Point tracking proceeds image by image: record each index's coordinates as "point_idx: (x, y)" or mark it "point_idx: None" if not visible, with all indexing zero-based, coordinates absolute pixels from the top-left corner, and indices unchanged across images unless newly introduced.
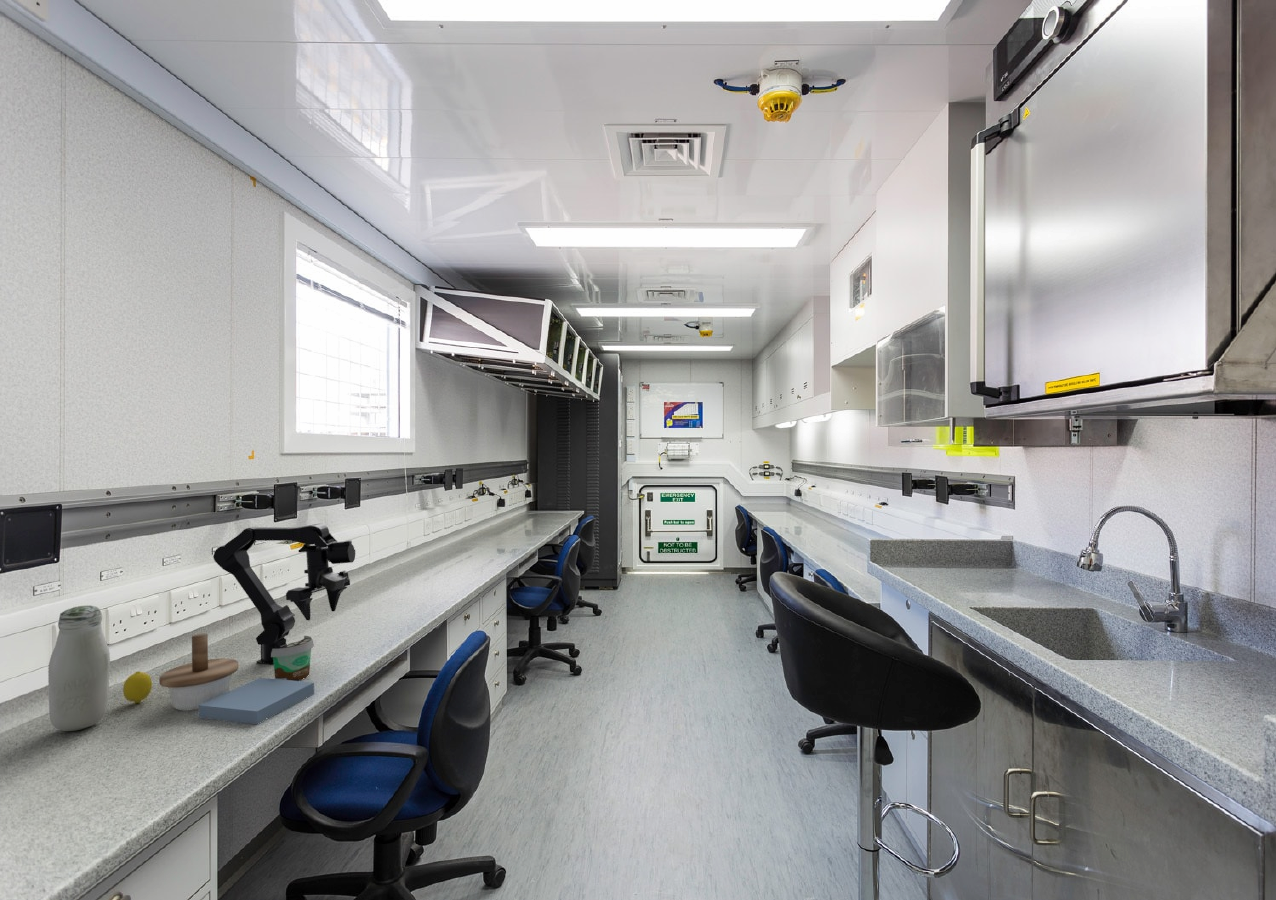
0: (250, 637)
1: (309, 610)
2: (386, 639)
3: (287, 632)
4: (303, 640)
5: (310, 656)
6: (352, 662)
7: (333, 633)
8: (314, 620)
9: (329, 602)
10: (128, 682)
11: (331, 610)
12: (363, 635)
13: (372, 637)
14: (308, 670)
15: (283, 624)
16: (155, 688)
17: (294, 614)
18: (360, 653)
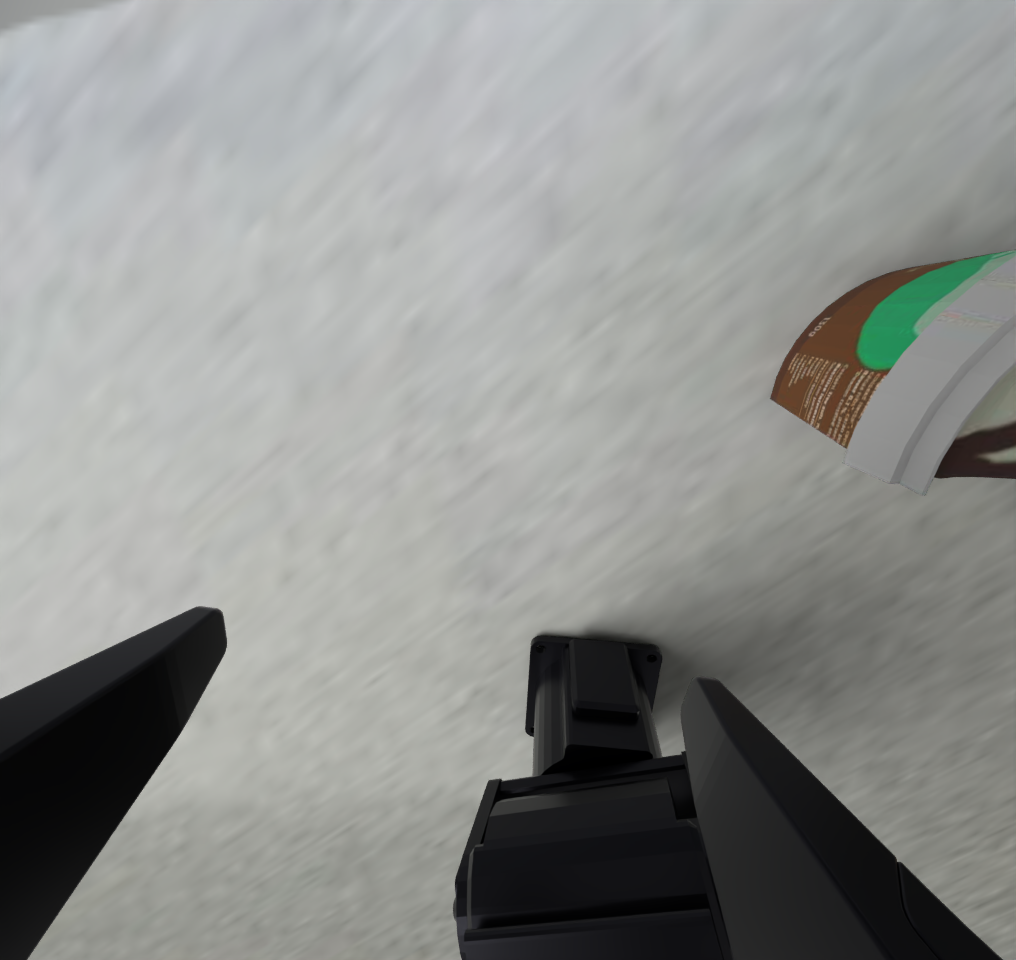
0: (330, 939)
1: (822, 835)
2: (40, 214)
3: (496, 799)
4: (990, 435)
5: (956, 277)
6: (570, 108)
7: None
8: None
9: (117, 818)
10: None
11: (221, 658)
12: (67, 465)
13: (64, 370)
14: (913, 269)
15: (706, 874)
16: (960, 900)
17: (465, 945)
18: (370, 203)
